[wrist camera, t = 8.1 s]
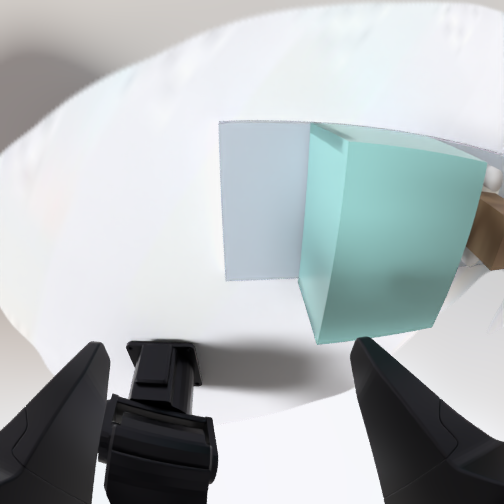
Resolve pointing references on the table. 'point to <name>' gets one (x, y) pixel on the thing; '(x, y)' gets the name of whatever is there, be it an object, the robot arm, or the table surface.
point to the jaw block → (488, 231)
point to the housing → (382, 229)
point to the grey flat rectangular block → (284, 195)
